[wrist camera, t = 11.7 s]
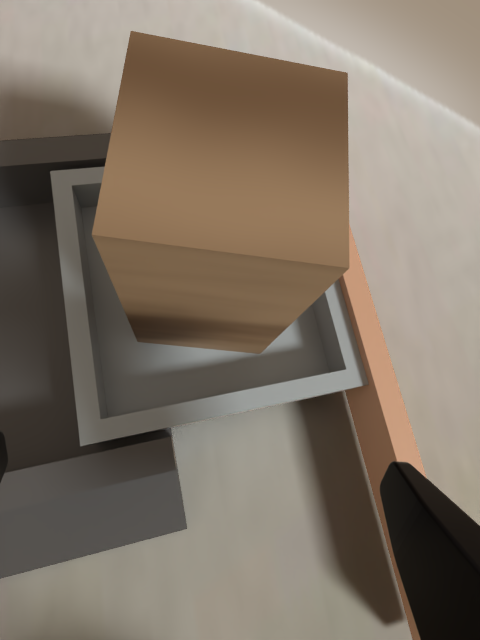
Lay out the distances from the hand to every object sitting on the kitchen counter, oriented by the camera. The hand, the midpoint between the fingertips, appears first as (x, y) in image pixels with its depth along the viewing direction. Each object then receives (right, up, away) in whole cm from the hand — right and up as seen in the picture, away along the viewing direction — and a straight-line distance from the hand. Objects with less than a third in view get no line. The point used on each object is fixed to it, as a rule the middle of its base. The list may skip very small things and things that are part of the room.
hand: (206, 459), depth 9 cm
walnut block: (-1, +5, +9) cm, 11 cm away
